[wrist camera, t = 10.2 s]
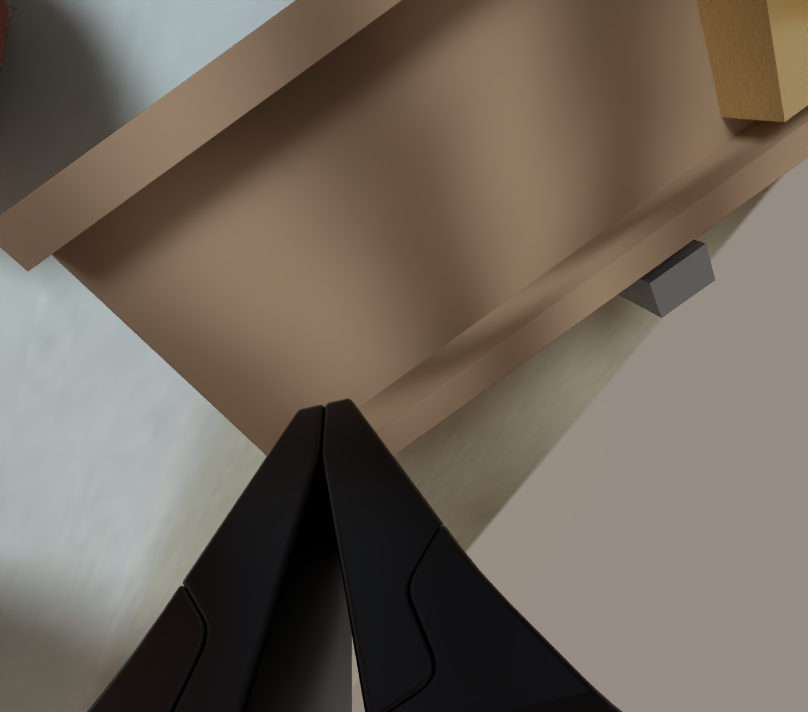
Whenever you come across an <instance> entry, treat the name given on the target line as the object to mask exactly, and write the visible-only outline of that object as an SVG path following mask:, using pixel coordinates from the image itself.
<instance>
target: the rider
mask: <svg viewBox="0 0 808 712" xmlns="http://www.w3.org/2000/svg"><path fill="white" fill-rule="evenodd" d="M696 1H697V6H698V10H699V15H700V19H701V24H702V29H703V33H704V38H705V43H706V47H707V52H708V56H709V61H710V66H711V70H712V75H713V80H714V84H715V89H716V93H717V98H718V103H719V107H720V112H721V117H725V118H738V119H750V120H763V121H776V122H786V121H787V120H789V119H790V118H791V117H793V116H794V115H795V114H797V113H798V112H799V111H801V110H802V109H804V108H805V107H806V106H808V0H696Z"/></svg>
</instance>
